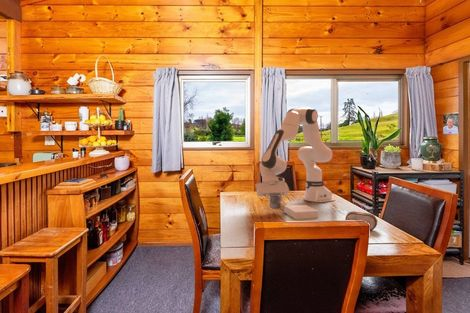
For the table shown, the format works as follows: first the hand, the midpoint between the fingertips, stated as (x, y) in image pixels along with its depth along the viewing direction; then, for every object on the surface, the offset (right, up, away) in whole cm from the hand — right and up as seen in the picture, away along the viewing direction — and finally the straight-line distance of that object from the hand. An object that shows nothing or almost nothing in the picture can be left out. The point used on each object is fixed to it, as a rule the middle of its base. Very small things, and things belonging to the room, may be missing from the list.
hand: (275, 200), depth 187 cm
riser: (+15, -8, -2) cm, 17 cm away
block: (0, -4, +1) cm, 4 cm away
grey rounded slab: (+39, -11, -29) cm, 50 cm away
